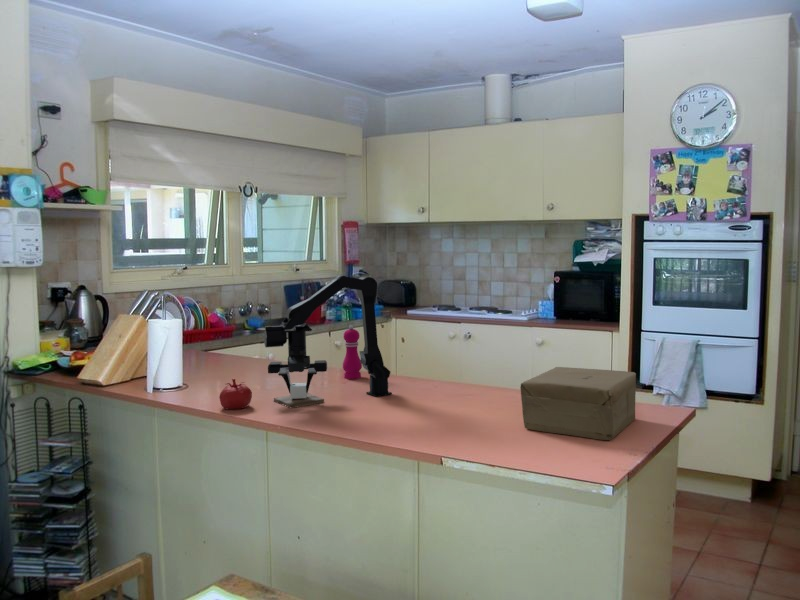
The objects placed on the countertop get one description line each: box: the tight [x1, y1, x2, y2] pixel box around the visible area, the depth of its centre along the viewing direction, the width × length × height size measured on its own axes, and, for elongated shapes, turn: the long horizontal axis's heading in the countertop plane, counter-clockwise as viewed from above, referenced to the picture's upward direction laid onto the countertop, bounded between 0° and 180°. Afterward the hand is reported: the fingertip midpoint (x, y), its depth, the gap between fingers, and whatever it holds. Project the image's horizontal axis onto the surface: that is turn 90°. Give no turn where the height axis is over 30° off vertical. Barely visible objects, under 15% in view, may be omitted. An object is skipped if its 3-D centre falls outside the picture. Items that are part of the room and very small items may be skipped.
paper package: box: [520, 366, 637, 441], centre depth 196 cm, size 27×26×14 cm
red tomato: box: [218, 378, 253, 410], centre depth 224 cm, size 10×10×9 cm
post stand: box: [273, 392, 325, 408], centre depth 230 cm, size 12×12×4 cm
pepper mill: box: [342, 324, 363, 380], centre depth 267 cm, size 7×7×20 cm
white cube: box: [289, 382, 307, 399], centre depth 230 cm, size 5×5×4 cm
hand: (298, 393), depth 230 cm, fingers closed on white cube, 5 cm apart
